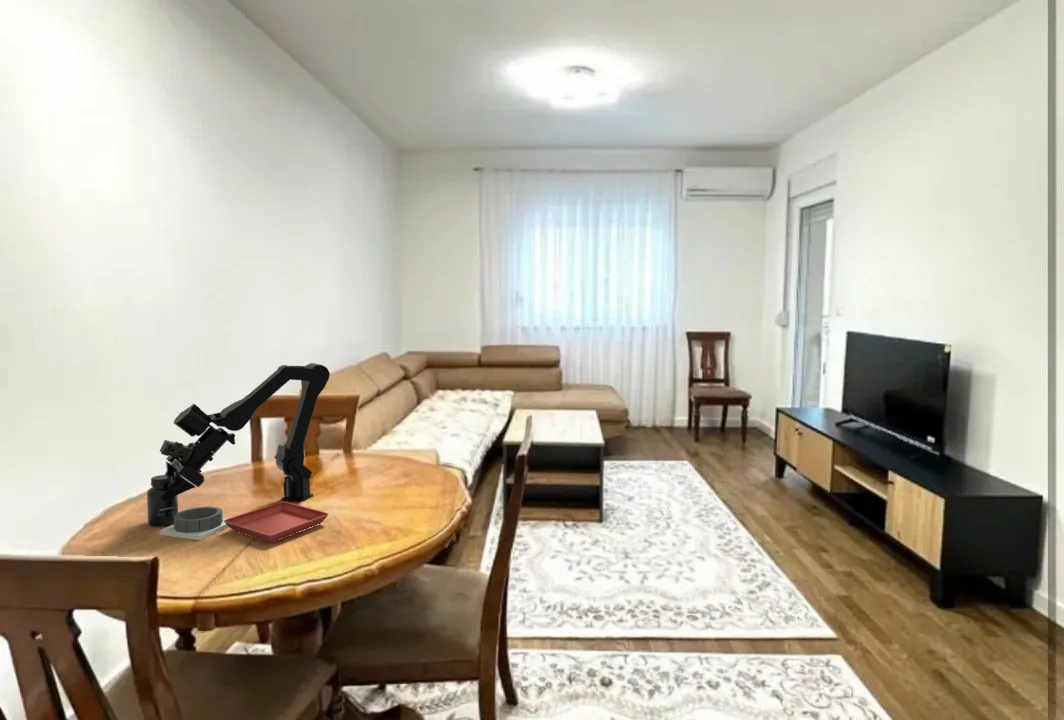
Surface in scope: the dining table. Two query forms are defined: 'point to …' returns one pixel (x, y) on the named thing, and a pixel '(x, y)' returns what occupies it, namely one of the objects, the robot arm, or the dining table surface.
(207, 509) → the collar
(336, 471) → the dining table surface
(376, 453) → the dining table surface
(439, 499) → the dining table surface
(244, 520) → the plant saucer
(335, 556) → the dining table surface
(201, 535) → the board
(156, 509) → the supplement bottle
